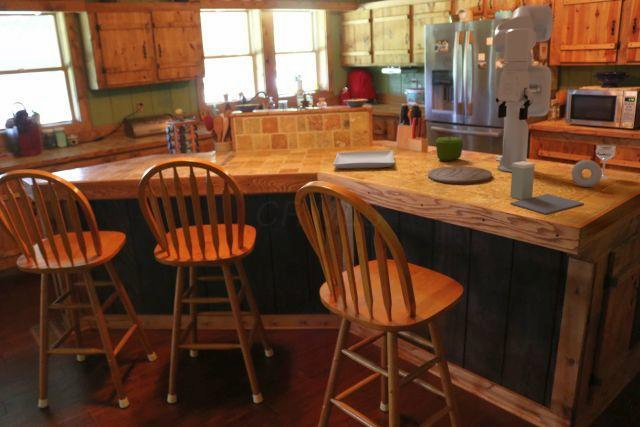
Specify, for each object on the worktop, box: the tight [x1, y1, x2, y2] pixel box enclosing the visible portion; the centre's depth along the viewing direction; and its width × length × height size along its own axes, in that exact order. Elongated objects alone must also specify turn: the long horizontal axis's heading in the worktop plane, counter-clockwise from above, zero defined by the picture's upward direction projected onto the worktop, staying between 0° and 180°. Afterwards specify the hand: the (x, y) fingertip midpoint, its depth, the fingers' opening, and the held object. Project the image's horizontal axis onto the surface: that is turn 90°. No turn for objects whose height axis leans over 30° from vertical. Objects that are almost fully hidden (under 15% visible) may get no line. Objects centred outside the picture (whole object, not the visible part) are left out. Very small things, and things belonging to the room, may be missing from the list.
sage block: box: [509, 161, 536, 201], centre depth 181 cm, size 5×5×12 cm
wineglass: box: [595, 144, 617, 180], centre depth 202 cm, size 7×7×12 cm
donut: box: [571, 159, 603, 188], centre depth 191 cm, size 10×4×10 cm, turn 48°
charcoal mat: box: [509, 193, 584, 215], centre depth 174 cm, size 14×18×1 cm
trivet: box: [427, 165, 493, 186], centre depth 214 cm, size 25×25×2 cm
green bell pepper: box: [435, 136, 464, 162], centre depth 244 cm, size 12×12×11 cm
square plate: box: [333, 150, 396, 170], centre depth 246 cm, size 27×27×4 cm
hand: (512, 118), depth 184 cm, fingers open, 9 cm apart
